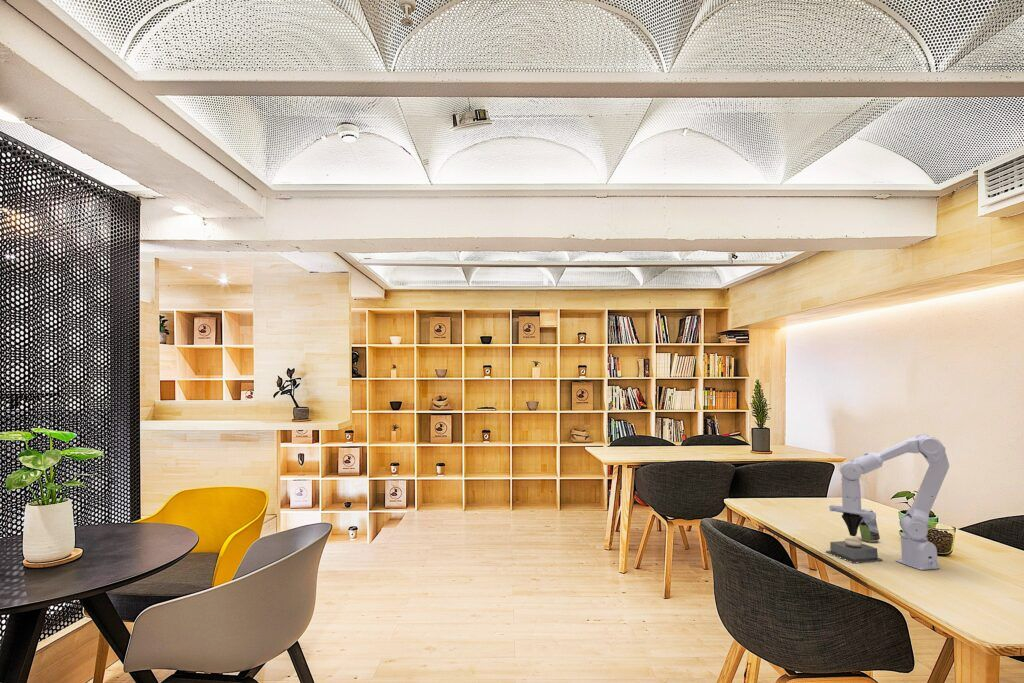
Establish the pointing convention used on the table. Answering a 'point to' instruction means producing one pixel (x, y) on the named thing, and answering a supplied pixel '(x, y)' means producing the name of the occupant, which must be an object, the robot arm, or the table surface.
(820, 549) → the table surface
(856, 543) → the plunger
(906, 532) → the robot arm
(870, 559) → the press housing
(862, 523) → the beverage can
